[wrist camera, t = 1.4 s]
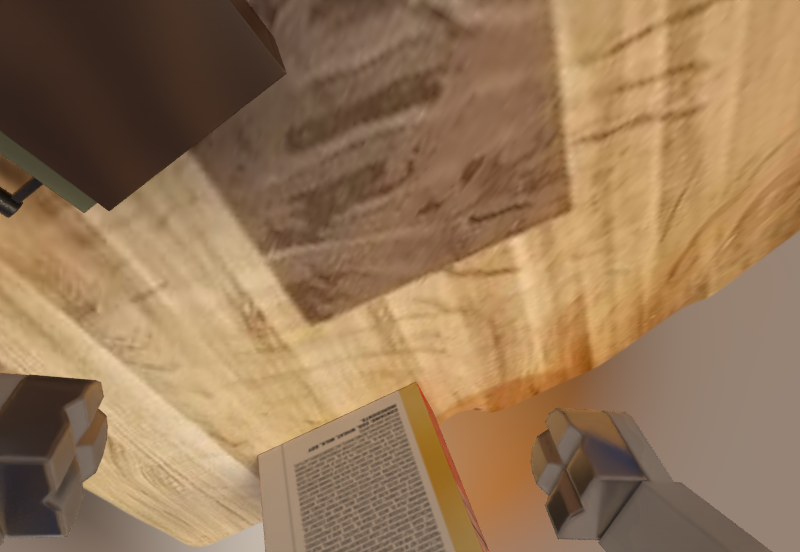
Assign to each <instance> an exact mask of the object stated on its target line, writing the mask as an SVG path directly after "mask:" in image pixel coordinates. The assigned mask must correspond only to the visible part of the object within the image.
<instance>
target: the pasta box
mask: <svg viewBox="0 0 800 552" xmlns="http://www.w3.org/2000/svg"><path fill="white" fill-rule="evenodd" d="M258 464H259V476H260V489H261V502H262V515H263V527H264V539H265V552H489V550H488V547H487V545H486V543H485V540H484V537H483V535H482V532H481V530H480V527H479V525H478V523H477V520H476V517H475V515H474V512H473V510H472V508H471V505H470V503H469V500H468V498H467V495H466V493H465V490H464V488H463V485H462V483H461V480H460V478H459V475H458V473H457V471H456V468H455V465H454V463H453V460H452V458H451V456H450V453H449V450H448V448H447V445H446V443H445V440H444V438H443V435H442V433H441V430H440V428H439V425H438V423H437V420H436V418H435V415H434V413H433V411H432V409H431V407H430V406H429V404H428V402H427V400H426V399H425V397H424V395H423V393H422V391H421V390H420V388H419V386H418V384H417V383H416V382H415V383H413V384H411V385H409V386H407V387H405V388H402V389H400V390H398V391H396V392H394V393H392V394H389V395H387V396H385V397H383V398H381V399H379V400H377V401H374V402H372V403H370V404H368V405H366V406H364V407H361V408H359V409H357V410H355V411H353V412H351V413H349V414H346V415H344V416H342V417H340V418H338V419H336V420H333V421H331V422H329V423H327V424H325V425H323V426H321V427H318V428H316V429H314V430H312V431H310V432H308V433H305V434H303V435H301V436H299V437H297V438H295V439H293V440H290V441H288V442H286V443H284V444H282V445H280V446H277V447H275V448H273V449H271V450H269V451H267V452H265V453H262V454H260V455H258Z"/></svg>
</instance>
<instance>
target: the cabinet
mask: <svg viewBox="0 0 800 552" xmlns="http://www.w3.org/2000/svg"><path fill="white" fill-rule="evenodd" d="M285 74H286V70H285V67H284V64H283V62H282V59H281V56H280V53H279V50H278V47H277V45H276V42H275V39H274V37H273V36H272V34H271V33H270V32H269V30H268V29H267V28H266V26H265V25H264V24H263V22H262V21H261V20H260V18H259V17H258V16H257V14H256V13H255V12H254V11H253V9H252V8H251V7H250V5H249V4H248V3H247V1H246V0H0V131H2V132H3V133H4V134H6V135H7V136H8V137H10V138H11V139H12V140H14V141H15V142H17V143H18V144H19V145H21V146H22V147H23V148H25V149H26V150H27V151H29V152H30V153H31V154H33V155H34V156H35V157H37V158H38V159H39V160H41V161H42V162H43V163H45V164H46V165H48V166H49V167H50V168H52V169H53V170H54V171H56V172H57V173H58V174H60V175H61V176H62V177H64V178H65V179H66V180H68V181H69V182H70V183H72V184H73V185H74V186H76V187H77V188H78V189H80V190H81V191H83V192H84V193H85V194H87V195H88V196H89V197H91V198H92V199H93V200H95V201H96V202H97V203H99V204H100V205H101V206H103V207H104V208H105V209H107V210H108V211H110V210H112V209H113V208H114V207H115V206H117V205H118V204H119V203H121V202H122V201H123V200H124V199H126V198H127V197H128V196H130V195H131V194H132V193H133V192H135V191H136V190H137V189H139V188H140V187H141V186H142V185H144V184H145V183H146V182H148V181H149V180H150V179H151V178H153V177H154V176H155V175H157V174H158V173H159V172H160V171H162V170H163V169H164V168H166V167H167V166H168V165H169V164H171V163H172V162H173V161H175V160H176V159H177V158H178V157H180V156H181V155H182V154H184V153H185V152H186V151H187V150H189V149H190V148H191V147H193V146H194V145H195V144H196V143H198V142H199V141H200V140H202V139H203V138H204V137H205V136H207V135H208V134H209V133H211V132H212V131H213V130H214V129H216V128H217V127H218V126H220V125H221V124H222V123H223V122H225V121H226V120H227V119H229V118H230V117H231V116H232V115H234V114H235V113H236V112H238V111H239V110H240V109H241V108H243V107H244V106H245V105H247V104H248V103H249V102H250V101H252V100H253V99H254V98H256V97H257V96H258V95H259V94H261V93H262V92H263V91H265V90H266V89H267V88H268V87H270V86H271V85H272V84H274V83H275V82H276V81H277V80H279V79H280V78H281V77H283V76H284V75H285Z"/></svg>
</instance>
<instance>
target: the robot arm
mask: <svg viewBox="0 0 800 552" xmlns="http://www.w3.org/2000/svg"><path fill="white" fill-rule="evenodd" d="M103 397H104V395H103V390H102V385H101V382H99V381H96V380H86V379H74V378H63V377H51V376H39V375H20V374H8V373H0V545H1V544H2V543H3V542H4V540H3V539H8V538H48V537H49V538H51V537H52V538H53V537H67V536H68V534H69V532H70V530H71V527H72V525H73V523H74V520H75V518H76V516H77V514H78V511H79V509H80V507H81V505H82V503H83V501H84V498H85V496H84V490H83V484H82V483H83V482H84V481H85V480H87V479H88V478H89V477H91V476H92V475H93V474H95V473H96V471H97V469H98V466H99V464H100V462H101V459H102V457H103V453H104V449H105V445H106V441H107V429H108V425H107V416H106V415H105V414H104V413H103V412H102V411H101V410H99V409H98V408H99V406H100V404H101V401H102V399H103ZM545 423H546V425H547V428H548V430H546V431H545V432H543V433H542V434H540V435H539V436H537V438H536V440H535V442H534V444H533V447H532V452H531V466H532V472H533V475H534V478H535V481H536V484H537V485H538V486H539V487H540V488H541V489H542V490H543V491H544V492H545V493H546V494H547V495H548V498H547V501H546V504H545V507H546V510H547V512H548V515H549V517H550V520H551V523H552V525H553V528H554V530H555V533H556V535H557V538H558V539H578V540H600V541H599V542H598V543H599V544H600V545H601V546H602V547H603V549H604V550H605V551H606V552H772V551H770V550H769V549H768V548H767V547H765V546H764V545H763V544H761V543H760V542H759V541H758V540H756V539H755V538H754V537H752V536H751V535H750V534H748V533H747V532H745V531H744V530H743V529H742V528H740V527H739V526H738V525H736V524H735V523H734V522H733V521H731V520H730V519H728V518H727V517H726V516H725V515H723V514H722V513H721V512H719V511H718V510H717V509H715V508H714V507H713V506H711V505H710V504H709V503H707V502H706V501H705V500H704V499H702V498H701V497H700V496H698V495H697V494H695V493H694V492H693V491H692V490H690V489H689V488H688V487H686V486H685V485H684V484H682V483H680V482H674V481H673V480H672V478H671V476H670V475H669V473H668V472H667V470H666V469H665V467H664V466H663V464H662V463H661V461H660V459H659V458H658V456H657V455H656V453H655V452H654V450H653V449H652V447H651V446H650V444H649V442H648V441H647V439H646V438H645V436H644V434H643V433H642V431H641V430H640V428H639V427H638V425H637V424H636V422H635V420H634V419H633V418H632V417H631V416H630V415H629V414H627V413H626V412H618V411H599V410H580V409H561V408H555V409H554V410H552V411H551V412H550V413H549V415H548V417H547V419H546V420H545Z"/></svg>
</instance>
